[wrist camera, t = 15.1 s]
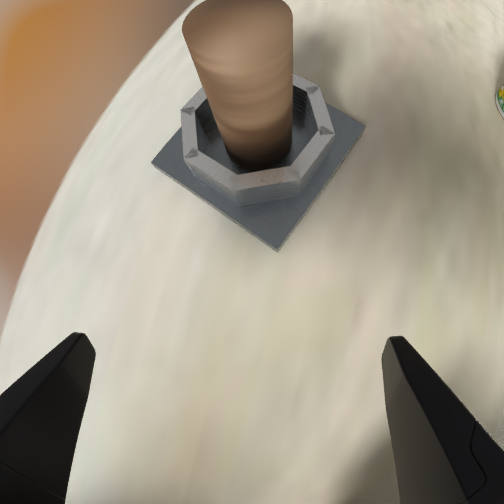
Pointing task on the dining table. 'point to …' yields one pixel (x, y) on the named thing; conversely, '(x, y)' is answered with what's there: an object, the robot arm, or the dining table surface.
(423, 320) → the dining table surface
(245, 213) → the dock
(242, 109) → the peg
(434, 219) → the dining table surface
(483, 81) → the dining table surface
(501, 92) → the supplement bottle
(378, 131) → the dining table surface
